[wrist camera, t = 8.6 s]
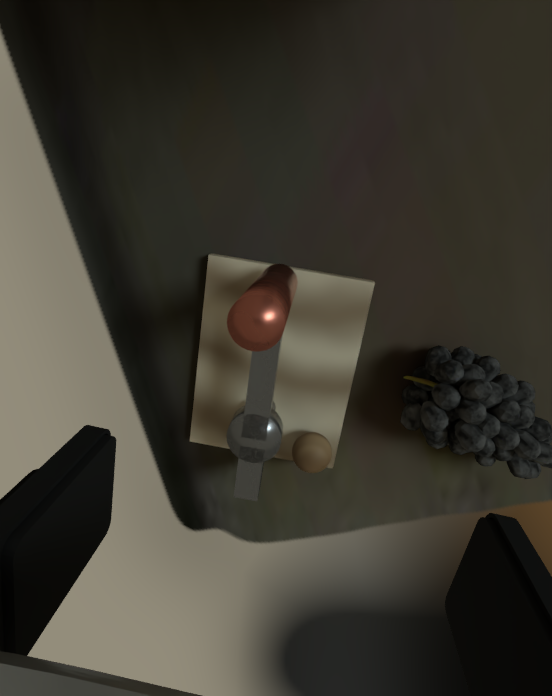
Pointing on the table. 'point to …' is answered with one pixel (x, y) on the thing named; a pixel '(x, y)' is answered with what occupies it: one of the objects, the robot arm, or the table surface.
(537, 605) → the robot arm
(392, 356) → the table surface
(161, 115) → the table surface
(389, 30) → the table surface
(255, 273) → the board
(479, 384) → the fruit
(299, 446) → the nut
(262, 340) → the lever
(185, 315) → the table surface
